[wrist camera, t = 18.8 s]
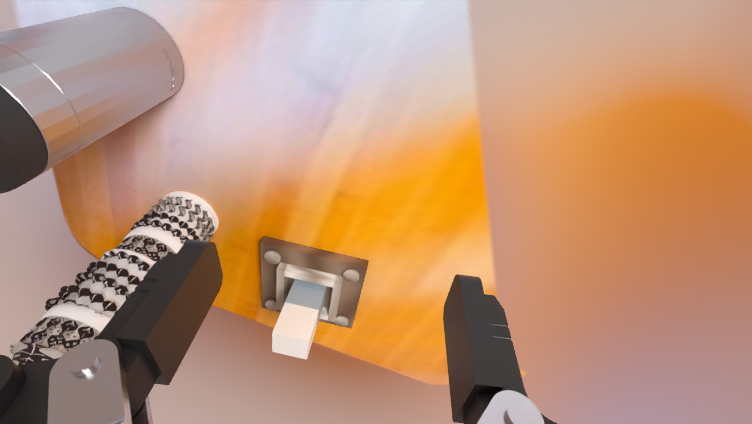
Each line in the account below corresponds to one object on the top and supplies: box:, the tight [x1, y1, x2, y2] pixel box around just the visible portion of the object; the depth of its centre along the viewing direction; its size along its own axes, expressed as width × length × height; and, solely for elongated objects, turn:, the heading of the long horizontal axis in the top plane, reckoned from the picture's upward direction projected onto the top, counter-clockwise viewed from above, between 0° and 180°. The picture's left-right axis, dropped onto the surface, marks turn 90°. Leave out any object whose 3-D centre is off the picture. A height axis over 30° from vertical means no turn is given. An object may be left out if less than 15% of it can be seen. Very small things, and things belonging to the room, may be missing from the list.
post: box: [272, 279, 327, 359], centre depth 52 cm, size 5×5×10 cm
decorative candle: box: [10, 191, 219, 365], centre depth 42 cm, size 9×9×25 cm
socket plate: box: [260, 236, 368, 328], centre depth 56 cm, size 16×16×3 cm
